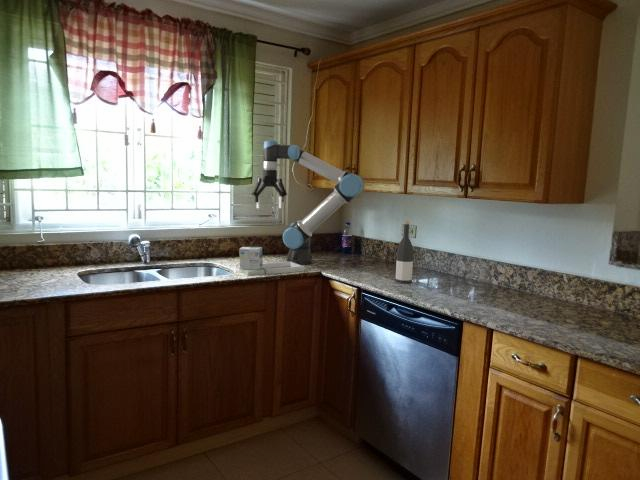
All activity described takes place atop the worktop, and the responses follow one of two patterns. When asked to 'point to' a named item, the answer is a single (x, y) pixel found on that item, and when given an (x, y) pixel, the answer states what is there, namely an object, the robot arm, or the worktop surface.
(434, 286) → the worktop surface
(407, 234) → the wine bottle
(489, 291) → the worktop surface
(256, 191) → the robot arm
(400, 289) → the worktop surface
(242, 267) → the light bulb box
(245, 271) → the board
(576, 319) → the worktop surface
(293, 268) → the tray
